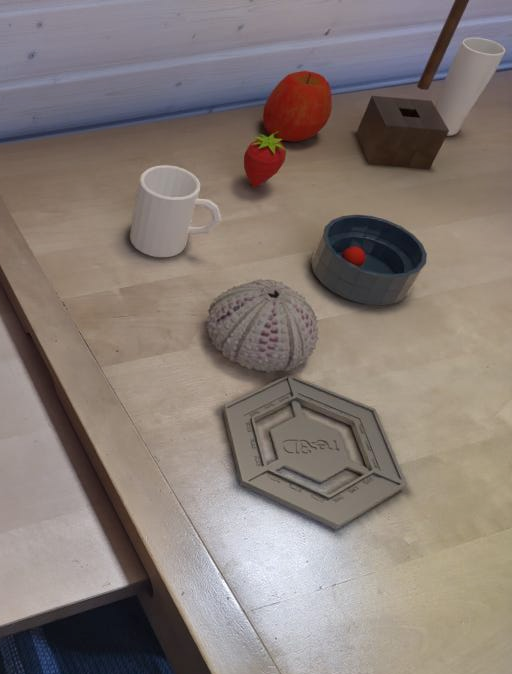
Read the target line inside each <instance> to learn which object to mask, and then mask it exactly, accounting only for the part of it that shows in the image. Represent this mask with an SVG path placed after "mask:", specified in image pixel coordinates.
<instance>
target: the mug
mask: <svg viewBox="0 0 512 674" xmlns="http://www.w3.org/2000/svg"><path fill="white" fill-rule="evenodd" d="M201 187H202V186H201V182H200V180H199V179H198V177H197V176H195V174H194V173H193V172H192V171H189V170H187V169H185V168H183V167H180V166H176V165H175V166H174V165H169V164H168V165H160V164H159V165H156V166H151V167H149V168H147V169H145V170H144V171H143V172H142V173H141V174H140V177H139V182H138V187H137V193H136V199H135V205H134V209H133V216H132V221H131V226H130V232H129V239H130V243H131V244H132V246H133V247H134V248H135V249H136V250H138V252H141V253H142V254H144V255H146V256H149V257H154V258H171V257H174V256H175V257H176V256H177V255H178V254H181V253H182V252H183V251H184V250H185V248H186V247H187V243H188V240H189V239H188V238H189V235H190V234H191V235H205V234H209V233H210V232H211V231H212V230H213V229H214V228H215V227H216V226H217V225H218V224H219V223H220V222H221V221H223V219H222V215H221V211H220V209H219V205H217V204H216V203H214V202H213V201H212V200H211V199H207V198H199V197H200V196H199V195H200V191H201ZM197 206H198V207H200V206H201V207H203V208H205V209H206V210H208V211H209V212H210V215H211V218H212V219H211V220H210V221H208V223H207V224H205V225H203V226H192V223H193V219H194V215H195V211H196V208H197Z"/></svg>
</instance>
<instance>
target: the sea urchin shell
mask: <svg viewBox="0 0 512 674" xmlns="http://www.w3.org/2000/svg"><path fill="white" fill-rule="evenodd" d="M207 312H208V314H209V315H208V316H207V325H206V328H207V331H208V337H209V339H211V345H214V346H215V348H216V350H217V351H221V353H222V354H221V355H222V356H223V357H224V358H227V359H229V361H230V362H236V363H238V364H239V365H240V367H245V368H247V370H256V371H261V372H265V373H270V372H272V373H274V372H278V371H281V372H288V371H289V370H293V369H297V368H298V366H301V365H302V364H303V362H306V361H307V360H308V357H310V356H312V354H313V352H314V350H315V349H316V348H317V342H318V341H319V339H320V338H319V337H318V335H319V334H320V332H319V327H318V326H317V325H318V323H319V320H317V316H316V313H315V310H314V309H313V307H312V306H311V304H310V303H309V302H308V301H307V300H306V297H304V296H303V294H302V293H301V294H300V293H299V292H298V291H295V290H294V289H292V288H291V287H289V286H287V285H286V284H284V283H283V281H276V280H274V279H262V278H260V279H256V280H253V281H250V282H246V283H243V284H239V285H237V286H236V285H235V286H233V287H232V288H227V290H226V291H222V293H221V294H219V295H217V296H216V297H214V298H213V301H212V302H211V303H210V304H209V308H208V309H207Z"/></svg>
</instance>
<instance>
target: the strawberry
mask: <svg viewBox="0 0 512 674" xmlns="http://www.w3.org/2000/svg"><path fill="white" fill-rule="evenodd" d="M277 132H278V131H277ZM277 132H276V133H277ZM274 134H275V133H274ZM274 134H272V135H270V134H269V136H266V135H264V134H262V133H260V134H259V136H253V137H252V138H253V139H255V140H254V141H253V142H251V143H250V144H249V145H248V146H247V148H246V150H245V152H244V154H243V159H244V160H243V169H244V172H245V176H246V178H247V180H248V182H249V185H250V186H251V188H258V187H259V186H261V185H262V184H264V183H265V182H267V181H268V180H270V179H271V178H272V177H273V176H275V175H276V174H277V173H278V172H279V171H280V169H281V167H282V166H283V165H284V164H285V160H286V156H287V150H286V148H285V146H284V144H283V143H282V142H281V141H284V140H283V139H278V138H276V137H274Z"/></svg>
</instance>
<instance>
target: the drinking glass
mask: <svg viewBox="0 0 512 674" xmlns="http://www.w3.org/2000/svg"><path fill="white" fill-rule="evenodd" d="M505 53H506V49H505V47H504V46H503V45H502V44H501V43H498V42H497V41H495V40H491V39H487V38H485V37H484V38H483V37H474V36H473V37H467V38H465V39H463V40H462V42H461V44H460V45H459V47H458V49H457V51H456V53H455V55H454V56H453V59H452V61H451V62H450V63H451V64H450V65H449V68H448V71H447V73H446V76H445V79H444V81H443V84H442V86H441V89H440V92H439V94H438V96H437V99H436V101H435V104H434V106H435V107H436V109H437V111H438V113H439V114H440V116H441V118H442V119H443V121H444V123H445V124H446V126H447V128H448V129H449V132H448V134H447V136H446V137H451V136H454V135H456V134H458V133H459V132H460V130H461V128H462V126H463V124H464V122H465V121H466V119H467V118H468V116H469V115H470V113H471V111H472V109H473V108H474V107H475V105H476V104H477V102H478V100H479V98H480V97H481V95H482V94H483V92H484V91H485V89H486V88H487V86H488V84H489V83H490V81H491V80H492V79H493V77H494V75H495V73H496V71H497V69H498V67H499V65H500V64H501V62H502V60H503V57H504V55H505Z"/></svg>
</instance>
